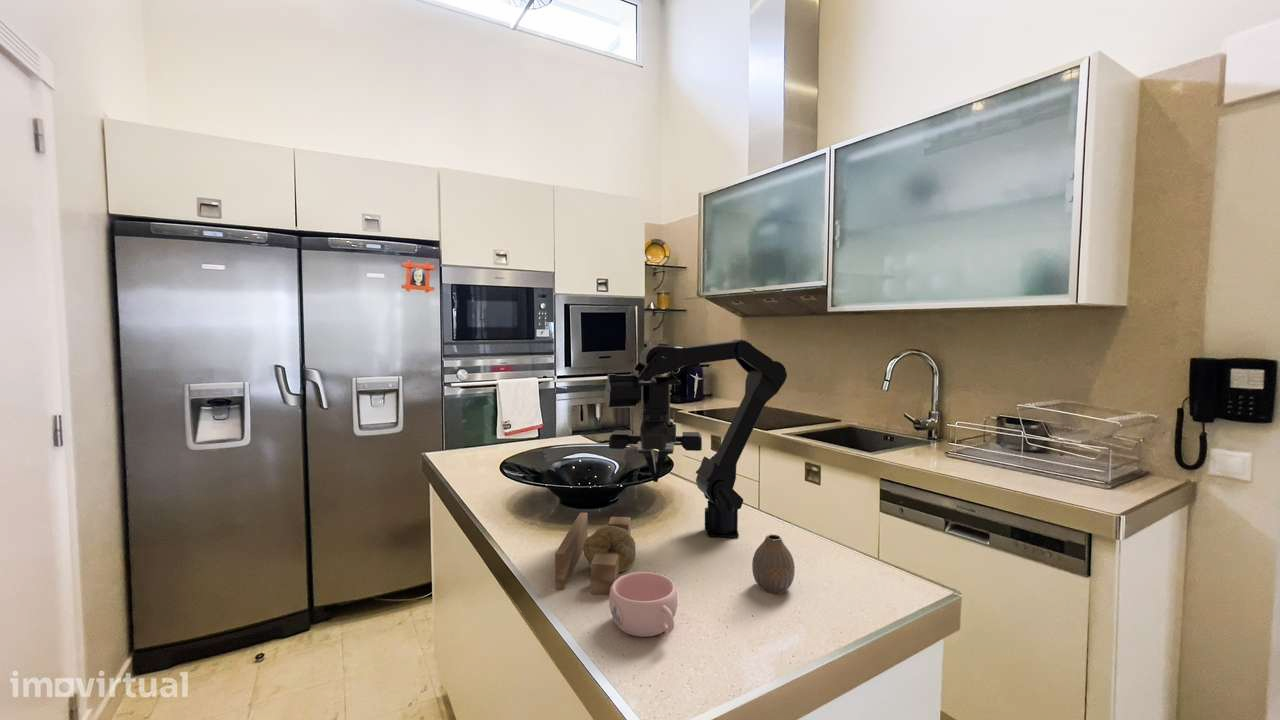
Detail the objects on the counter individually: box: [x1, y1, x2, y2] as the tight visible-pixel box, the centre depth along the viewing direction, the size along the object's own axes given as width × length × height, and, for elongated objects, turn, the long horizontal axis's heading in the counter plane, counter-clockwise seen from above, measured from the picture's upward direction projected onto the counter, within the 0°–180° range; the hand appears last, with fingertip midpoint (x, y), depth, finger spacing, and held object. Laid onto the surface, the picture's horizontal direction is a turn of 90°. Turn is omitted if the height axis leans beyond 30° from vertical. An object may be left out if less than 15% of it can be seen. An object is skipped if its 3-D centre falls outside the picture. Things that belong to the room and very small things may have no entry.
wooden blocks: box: [554, 512, 632, 596], centre depth 96 cm, size 10×22×6 cm, turn 174°
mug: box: [608, 571, 679, 638], centre depth 75 cm, size 12×10×6 cm
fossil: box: [582, 525, 637, 572], centre depth 96 cm, size 9×4×10 cm
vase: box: [751, 534, 796, 595], centre depth 87 cm, size 7×7×9 cm
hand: (655, 481), depth 108 cm, fingers closed
